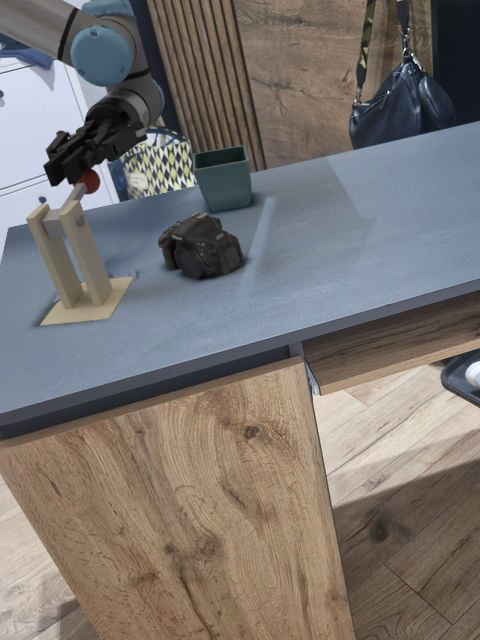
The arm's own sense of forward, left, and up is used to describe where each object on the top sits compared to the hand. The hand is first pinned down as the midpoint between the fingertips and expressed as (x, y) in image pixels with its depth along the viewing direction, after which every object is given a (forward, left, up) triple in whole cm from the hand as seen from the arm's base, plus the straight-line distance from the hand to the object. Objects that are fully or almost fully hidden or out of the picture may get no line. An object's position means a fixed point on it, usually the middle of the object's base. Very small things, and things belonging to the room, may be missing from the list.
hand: (59, 174), depth 79 cm
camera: (+13, +6, -17) cm, 22 cm away
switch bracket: (+1, -4, -16) cm, 17 cm away
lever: (0, +1, -5) cm, 6 cm away
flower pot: (+7, +28, -17) cm, 33 cm away
